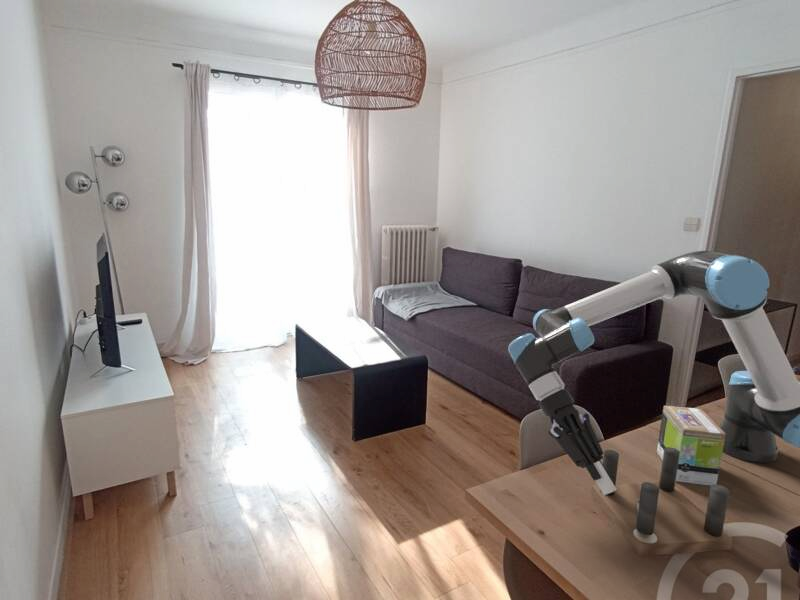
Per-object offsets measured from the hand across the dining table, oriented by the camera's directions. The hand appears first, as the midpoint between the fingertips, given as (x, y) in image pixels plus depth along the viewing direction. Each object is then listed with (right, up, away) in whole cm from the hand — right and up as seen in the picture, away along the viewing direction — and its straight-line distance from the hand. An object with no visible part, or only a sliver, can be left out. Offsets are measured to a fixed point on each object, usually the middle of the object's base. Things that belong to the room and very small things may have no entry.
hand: (610, 492), depth 102 cm
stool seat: (+12, -8, +3) cm, 14 cm away
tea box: (+31, -4, +24) cm, 39 cm away
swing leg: (+7, -6, -1) cm, 9 cm away
